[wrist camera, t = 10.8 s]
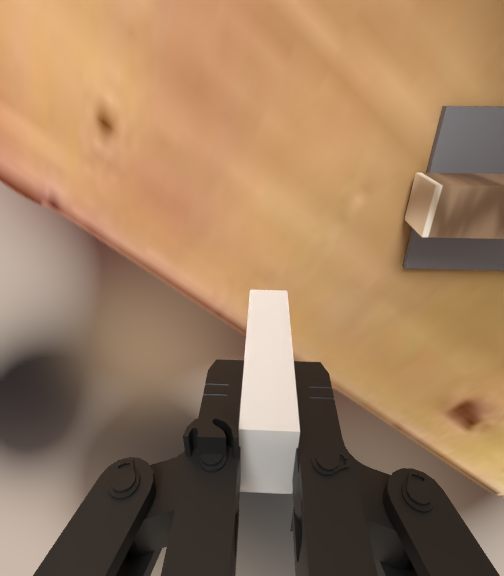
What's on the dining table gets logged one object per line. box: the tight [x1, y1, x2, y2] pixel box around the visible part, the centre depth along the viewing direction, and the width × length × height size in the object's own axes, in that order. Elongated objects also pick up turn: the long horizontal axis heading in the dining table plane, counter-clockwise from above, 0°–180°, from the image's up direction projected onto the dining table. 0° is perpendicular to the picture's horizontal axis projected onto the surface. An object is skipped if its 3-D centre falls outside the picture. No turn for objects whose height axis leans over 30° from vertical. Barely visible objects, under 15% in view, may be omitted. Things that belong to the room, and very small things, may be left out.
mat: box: [403, 106, 504, 271], centre depth 37 cm, size 17×14×1 cm
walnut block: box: [405, 173, 504, 239], centre depth 35 cm, size 5×5×12 cm
